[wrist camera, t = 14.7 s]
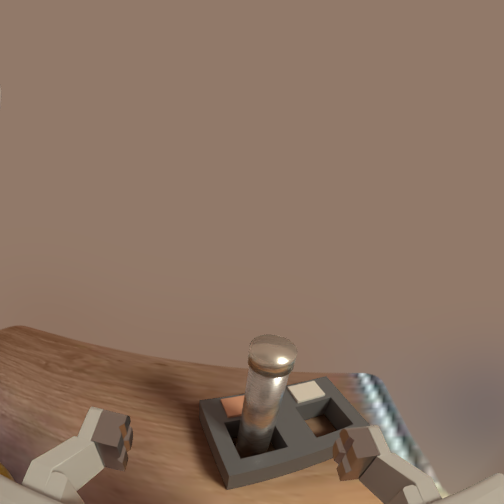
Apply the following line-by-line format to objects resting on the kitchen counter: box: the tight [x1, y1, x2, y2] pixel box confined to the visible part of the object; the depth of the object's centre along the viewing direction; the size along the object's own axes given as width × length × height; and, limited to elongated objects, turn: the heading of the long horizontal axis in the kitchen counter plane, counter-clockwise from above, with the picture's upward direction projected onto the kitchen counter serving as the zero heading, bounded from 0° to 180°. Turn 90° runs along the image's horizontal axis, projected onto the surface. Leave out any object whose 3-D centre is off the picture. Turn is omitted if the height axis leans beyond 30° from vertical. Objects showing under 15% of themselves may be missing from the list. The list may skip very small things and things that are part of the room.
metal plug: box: [236, 335, 297, 459], centre depth 25 cm, size 4×4×14 cm
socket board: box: [199, 376, 370, 490], centre depth 29 cm, size 16×10×3 cm, turn 111°
